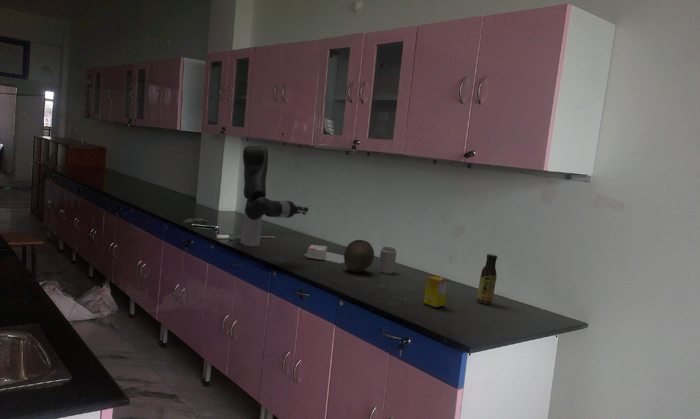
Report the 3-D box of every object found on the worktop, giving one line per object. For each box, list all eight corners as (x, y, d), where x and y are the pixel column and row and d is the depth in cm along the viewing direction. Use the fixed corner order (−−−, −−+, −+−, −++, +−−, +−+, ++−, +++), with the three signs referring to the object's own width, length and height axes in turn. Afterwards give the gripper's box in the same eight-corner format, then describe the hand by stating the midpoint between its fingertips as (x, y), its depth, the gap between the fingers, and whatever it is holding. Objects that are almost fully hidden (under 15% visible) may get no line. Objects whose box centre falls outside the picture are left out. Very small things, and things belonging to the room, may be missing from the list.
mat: (303, 255, 274) (304, 254, 274) (324, 252, 289) (324, 251, 289) (339, 263, 263) (339, 262, 262) (359, 260, 278) (359, 259, 278)
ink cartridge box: (307, 248, 265) (311, 243, 279) (306, 257, 265) (310, 252, 280) (324, 250, 264) (328, 245, 279) (323, 260, 265) (326, 254, 279)
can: (382, 269, 260) (385, 245, 259) (396, 273, 256) (399, 248, 255) (375, 271, 253) (378, 246, 252) (389, 275, 250) (392, 249, 248)
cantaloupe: (336, 271, 244) (340, 239, 243) (349, 267, 257) (353, 236, 256) (365, 277, 239) (369, 244, 237) (377, 273, 251) (380, 241, 250)
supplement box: (432, 303, 208) (436, 275, 207) (445, 307, 204) (448, 279, 203) (422, 304, 204) (426, 276, 203) (435, 309, 200) (438, 280, 199)
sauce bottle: (481, 305, 213) (488, 255, 211) (473, 300, 219) (480, 252, 217) (495, 305, 215) (502, 256, 213) (487, 301, 221) (494, 253, 219)
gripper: (295, 203, 233) (319, 204, 248) (272, 198, 240) (296, 199, 255) (293, 220, 234) (316, 220, 249) (270, 214, 241) (294, 215, 256)
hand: (306, 209), depth 252 cm, fingers closed
